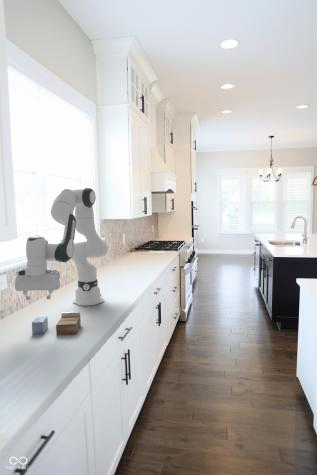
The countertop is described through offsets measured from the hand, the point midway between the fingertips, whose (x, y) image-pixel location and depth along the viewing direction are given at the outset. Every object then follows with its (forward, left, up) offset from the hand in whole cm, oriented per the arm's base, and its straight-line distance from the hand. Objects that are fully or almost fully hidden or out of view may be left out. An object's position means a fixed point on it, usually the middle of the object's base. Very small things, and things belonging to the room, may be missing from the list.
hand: (38, 299), depth 157 cm
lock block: (0, 0, -16) cm, 16 cm away
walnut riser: (0, +14, -16) cm, 21 cm away
